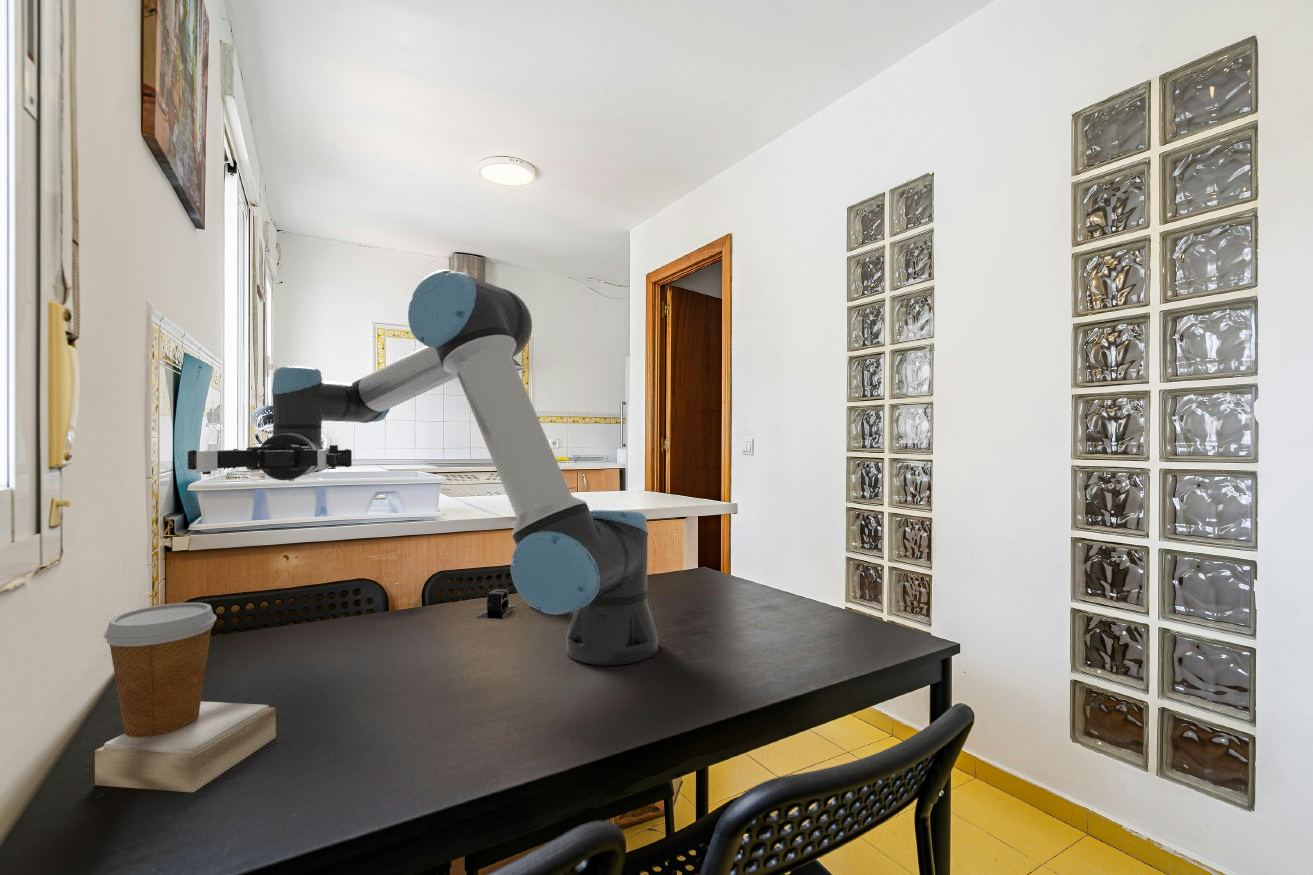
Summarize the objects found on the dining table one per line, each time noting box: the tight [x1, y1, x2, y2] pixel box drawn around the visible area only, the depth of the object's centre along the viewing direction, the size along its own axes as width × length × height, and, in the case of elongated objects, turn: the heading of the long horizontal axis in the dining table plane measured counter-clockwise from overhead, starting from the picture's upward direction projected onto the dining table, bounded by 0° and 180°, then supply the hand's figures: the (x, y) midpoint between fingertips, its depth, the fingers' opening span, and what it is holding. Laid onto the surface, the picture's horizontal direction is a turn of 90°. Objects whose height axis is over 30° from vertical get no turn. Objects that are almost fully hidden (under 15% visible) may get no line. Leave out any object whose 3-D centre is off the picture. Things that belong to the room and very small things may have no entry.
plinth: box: [94, 700, 277, 793], centre depth 66 cm, size 11×11×4 cm
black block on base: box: [476, 588, 517, 620], centre depth 122 cm, size 12×7×5 cm, turn 173°
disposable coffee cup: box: [103, 602, 217, 737], centre depth 66 cm, size 10×10×12 cm
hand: (262, 460), depth 80 cm, fingers open, 13 cm apart
